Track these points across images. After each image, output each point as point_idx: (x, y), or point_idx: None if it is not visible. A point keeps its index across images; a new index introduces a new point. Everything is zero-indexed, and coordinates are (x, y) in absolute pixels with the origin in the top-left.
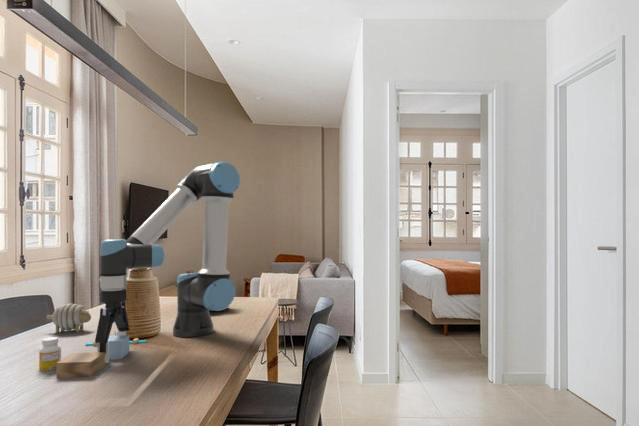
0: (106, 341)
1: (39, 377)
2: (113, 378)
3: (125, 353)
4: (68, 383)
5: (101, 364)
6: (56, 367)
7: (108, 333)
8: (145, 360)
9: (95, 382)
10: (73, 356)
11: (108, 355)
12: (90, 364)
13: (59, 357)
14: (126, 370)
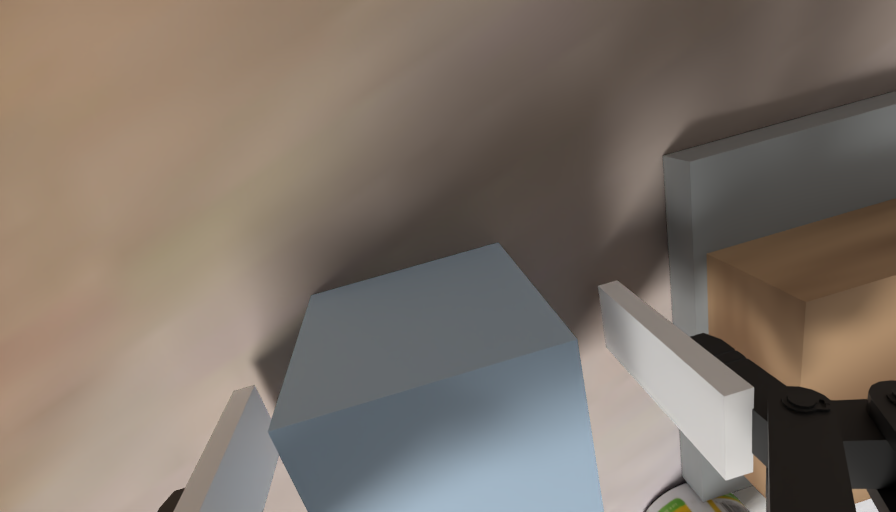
0: (807, 396)
1: (754, 506)
2: (834, 70)
3: (406, 293)
4: None
5: (794, 246)
6: (733, 508)
7: (837, 486)
8: (373, 79)
9: None
10: None
11: (651, 314)
12: None
13: None
14: (658, 85)
